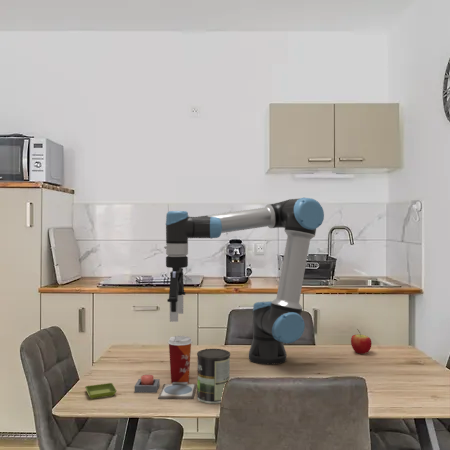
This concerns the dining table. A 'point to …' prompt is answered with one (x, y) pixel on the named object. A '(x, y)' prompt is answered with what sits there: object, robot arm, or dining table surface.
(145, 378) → the button
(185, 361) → the coffee cup
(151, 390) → the button housing
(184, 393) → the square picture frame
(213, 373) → the coffee can
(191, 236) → the robot arm
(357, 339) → the apple
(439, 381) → the dining table surface
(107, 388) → the green rectangular tray
